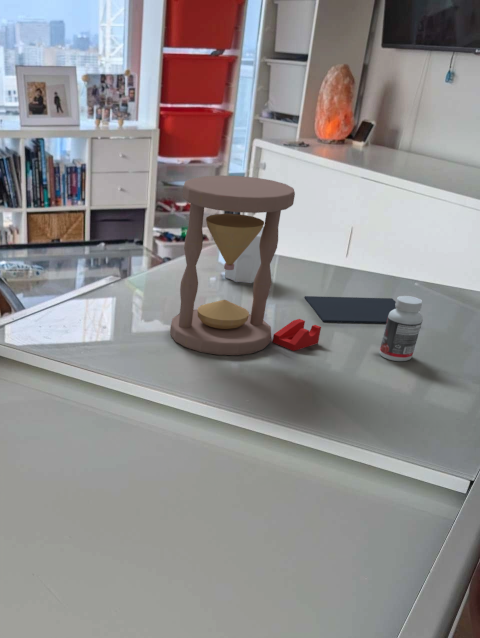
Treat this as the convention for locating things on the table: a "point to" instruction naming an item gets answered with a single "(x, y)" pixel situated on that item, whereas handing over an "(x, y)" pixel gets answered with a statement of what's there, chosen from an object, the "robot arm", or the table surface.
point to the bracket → (297, 335)
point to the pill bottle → (402, 329)
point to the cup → (247, 263)
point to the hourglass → (229, 261)
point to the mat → (352, 309)
